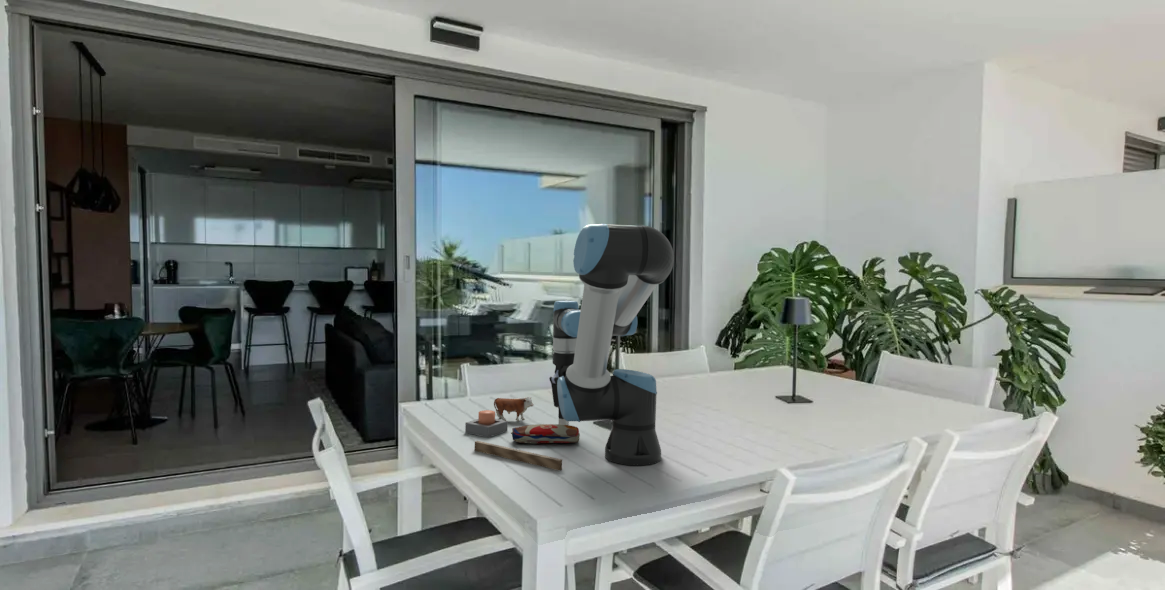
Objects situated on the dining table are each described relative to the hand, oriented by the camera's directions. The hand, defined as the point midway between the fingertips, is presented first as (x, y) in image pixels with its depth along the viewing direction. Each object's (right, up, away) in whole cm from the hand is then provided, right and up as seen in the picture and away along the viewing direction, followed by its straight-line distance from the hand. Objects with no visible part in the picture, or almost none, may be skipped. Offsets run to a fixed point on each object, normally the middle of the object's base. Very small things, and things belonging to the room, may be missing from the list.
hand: (563, 428), depth 188 cm
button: (-23, +1, 0) cm, 23 cm away
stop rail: (-12, -3, -26) cm, 29 cm away
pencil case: (-5, -2, -9) cm, 11 cm away
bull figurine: (-17, -1, +15) cm, 22 cm away
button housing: (-23, -1, 0) cm, 24 cm away
